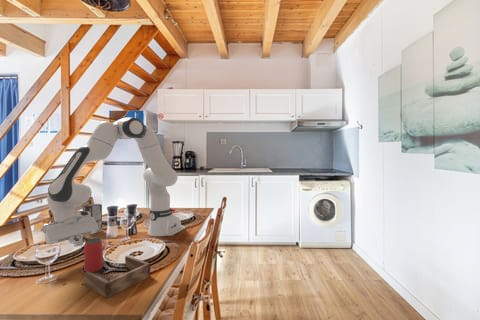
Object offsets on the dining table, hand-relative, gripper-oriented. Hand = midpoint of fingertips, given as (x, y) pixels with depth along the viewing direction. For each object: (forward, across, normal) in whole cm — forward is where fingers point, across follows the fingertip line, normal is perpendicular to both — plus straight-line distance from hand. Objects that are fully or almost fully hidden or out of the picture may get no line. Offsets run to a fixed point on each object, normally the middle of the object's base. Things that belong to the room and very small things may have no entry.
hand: (79, 245), depth 110 cm
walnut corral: (+25, 0, -14) cm, 29 cm away
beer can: (+13, 0, -2) cm, 13 cm away
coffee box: (-22, +26, +33) cm, 47 cm away
